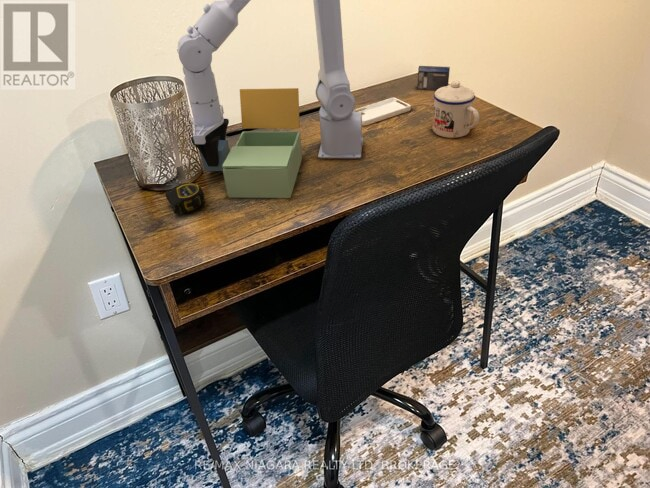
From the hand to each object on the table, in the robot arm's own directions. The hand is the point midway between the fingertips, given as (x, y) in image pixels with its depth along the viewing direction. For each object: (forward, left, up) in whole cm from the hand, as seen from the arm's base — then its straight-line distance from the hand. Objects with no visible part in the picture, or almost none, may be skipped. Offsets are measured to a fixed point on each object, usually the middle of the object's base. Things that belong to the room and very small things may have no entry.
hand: (216, 159), depth 111 cm
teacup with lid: (-52, -19, -3) cm, 55 cm away
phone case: (-34, -30, -3) cm, 45 cm away
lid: (-11, -8, +8) cm, 16 cm away
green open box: (-11, +2, -3) cm, 11 cm away
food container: (+11, +2, -3) cm, 12 cm away
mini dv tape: (-48, -46, -3) cm, 67 cm away
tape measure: (+3, +14, -3) cm, 15 cm away
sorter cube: (0, 0, -1) cm, 1 cm away
